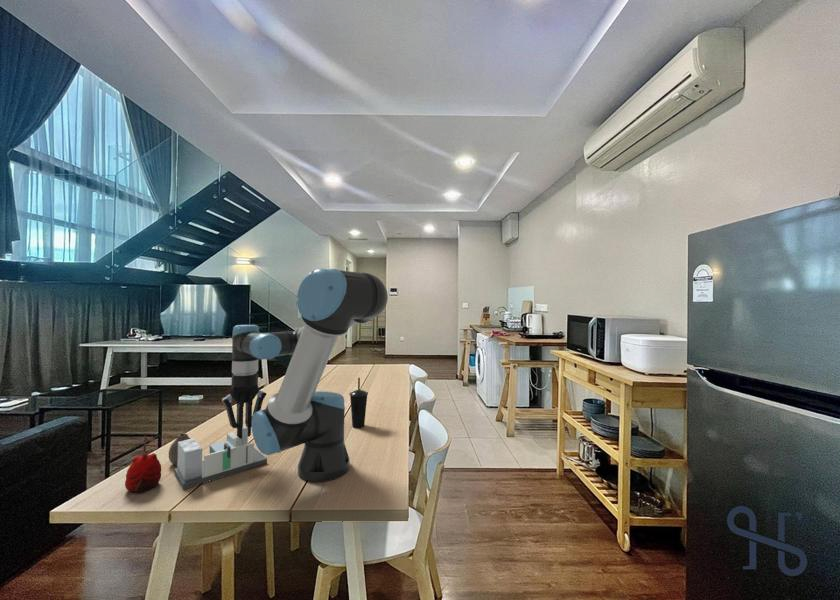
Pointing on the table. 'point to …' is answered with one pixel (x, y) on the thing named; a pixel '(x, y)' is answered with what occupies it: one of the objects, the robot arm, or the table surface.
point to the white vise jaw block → (189, 459)
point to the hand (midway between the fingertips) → (243, 447)
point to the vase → (176, 448)
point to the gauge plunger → (226, 444)
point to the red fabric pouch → (143, 472)
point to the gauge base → (225, 464)
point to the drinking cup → (358, 406)
